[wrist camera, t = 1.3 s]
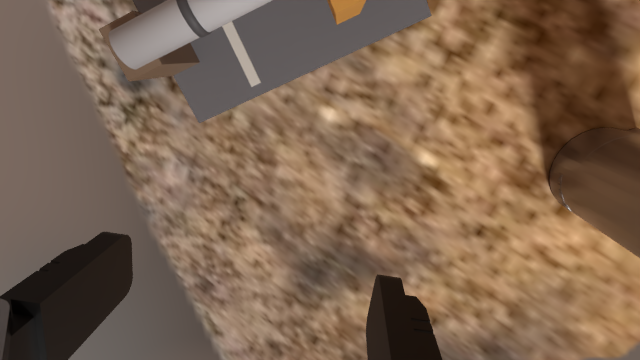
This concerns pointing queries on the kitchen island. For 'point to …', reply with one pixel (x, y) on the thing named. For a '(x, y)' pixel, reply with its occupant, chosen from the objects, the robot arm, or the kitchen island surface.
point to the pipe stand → (244, 43)
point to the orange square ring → (345, 9)
